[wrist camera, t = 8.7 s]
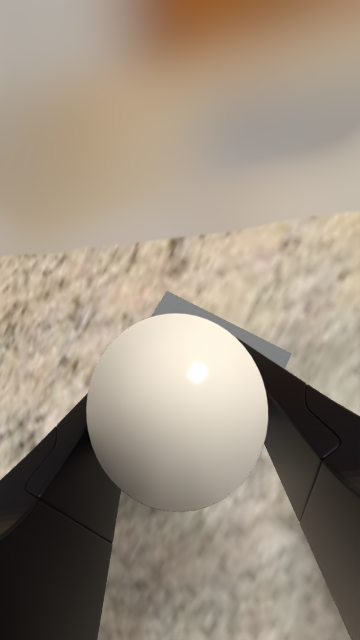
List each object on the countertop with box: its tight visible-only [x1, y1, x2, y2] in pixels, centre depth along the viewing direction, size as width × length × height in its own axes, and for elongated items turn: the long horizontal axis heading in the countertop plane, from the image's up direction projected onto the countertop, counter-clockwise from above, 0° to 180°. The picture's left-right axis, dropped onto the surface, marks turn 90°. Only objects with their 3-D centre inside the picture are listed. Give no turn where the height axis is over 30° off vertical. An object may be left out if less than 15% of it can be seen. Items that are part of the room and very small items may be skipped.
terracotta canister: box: [86, 313, 268, 512], centre depth 10 cm, size 5×5×10 cm
